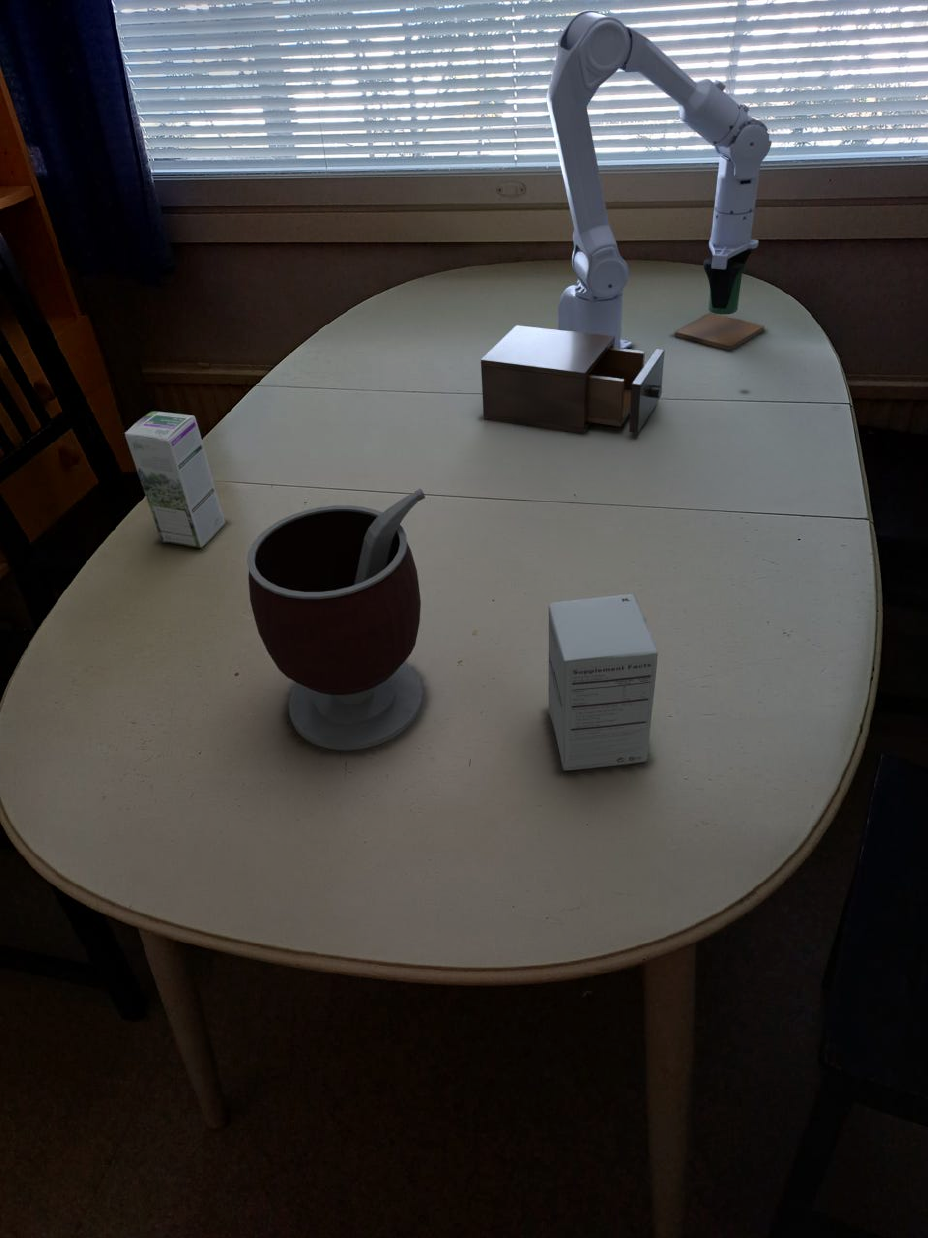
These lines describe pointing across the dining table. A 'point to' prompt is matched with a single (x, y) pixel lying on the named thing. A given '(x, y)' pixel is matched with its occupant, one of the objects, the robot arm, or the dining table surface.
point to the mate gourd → (341, 620)
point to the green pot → (734, 297)
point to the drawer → (624, 387)
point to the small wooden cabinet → (541, 377)
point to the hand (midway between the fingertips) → (723, 301)
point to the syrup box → (176, 478)
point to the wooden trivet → (719, 331)
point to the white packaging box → (601, 681)
